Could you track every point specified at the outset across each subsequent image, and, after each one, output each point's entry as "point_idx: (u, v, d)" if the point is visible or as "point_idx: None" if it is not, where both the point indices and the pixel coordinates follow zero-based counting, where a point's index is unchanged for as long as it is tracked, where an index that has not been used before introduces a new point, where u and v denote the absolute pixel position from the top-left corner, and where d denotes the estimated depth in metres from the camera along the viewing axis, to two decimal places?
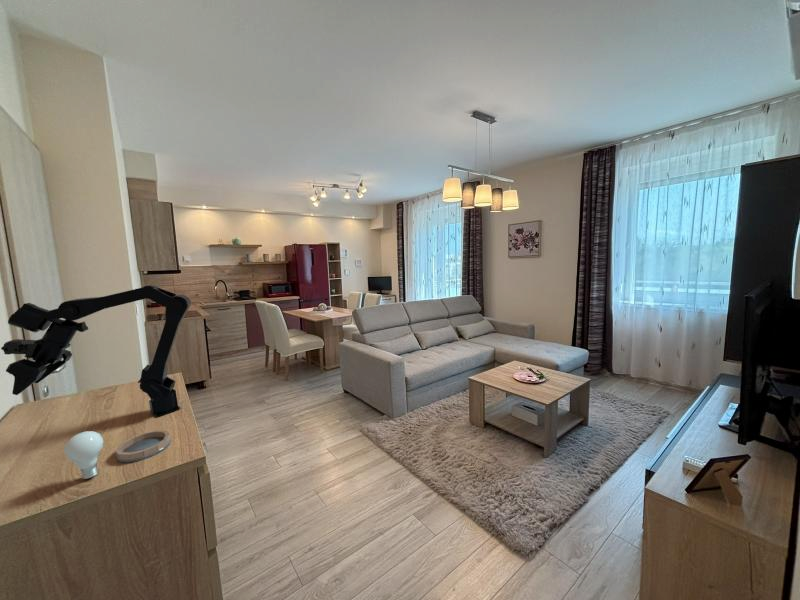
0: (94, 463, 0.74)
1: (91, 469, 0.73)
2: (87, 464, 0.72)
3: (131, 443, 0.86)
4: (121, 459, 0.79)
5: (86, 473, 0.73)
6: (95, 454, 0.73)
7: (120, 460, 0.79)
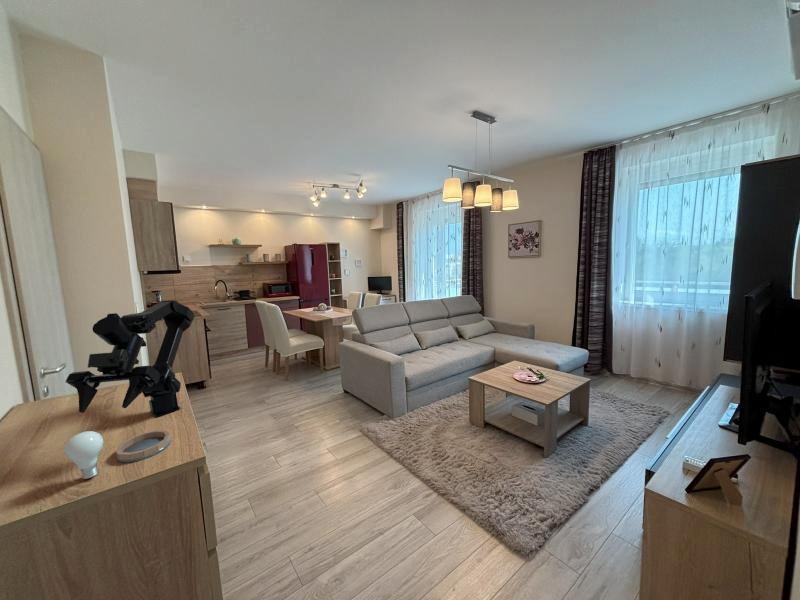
0: (94, 463, 0.74)
1: (91, 469, 0.73)
2: (87, 464, 0.72)
3: (131, 443, 0.86)
4: (121, 459, 0.79)
5: (86, 473, 0.73)
6: (95, 454, 0.73)
7: (120, 460, 0.79)
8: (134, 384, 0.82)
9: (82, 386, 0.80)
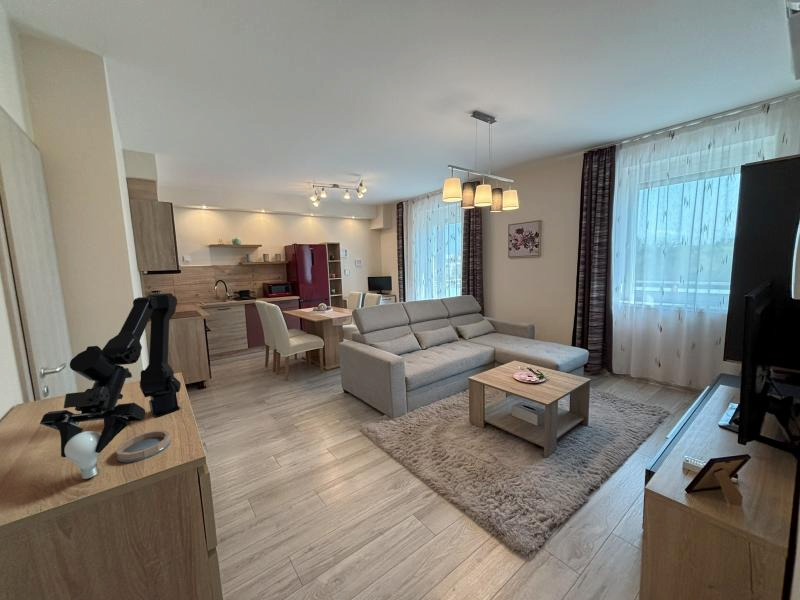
0: (94, 463, 0.74)
1: (91, 469, 0.73)
2: (87, 464, 0.72)
3: (131, 443, 0.86)
4: (121, 459, 0.79)
5: (86, 473, 0.73)
6: (95, 454, 0.73)
7: (120, 460, 0.79)
8: (109, 425, 0.74)
9: (65, 427, 0.73)
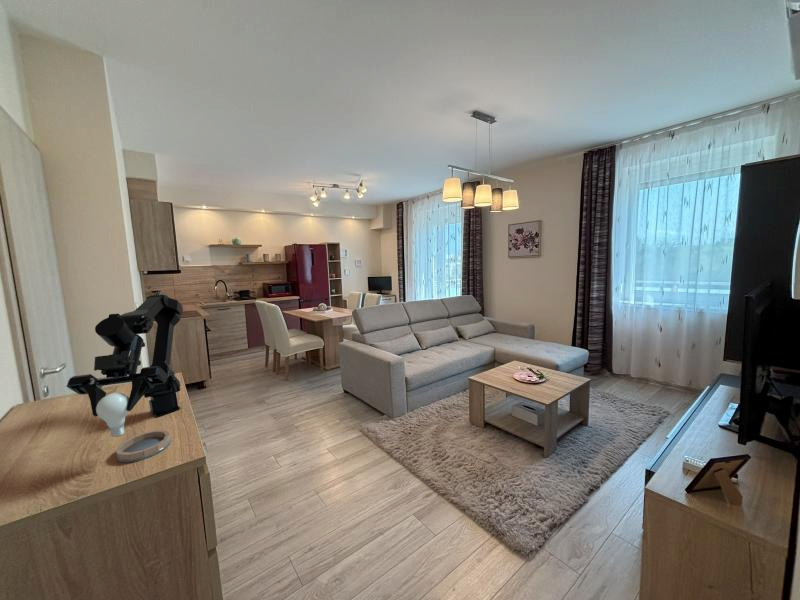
0: (123, 422, 0.79)
1: (120, 428, 0.78)
2: (118, 422, 0.77)
3: (131, 443, 0.86)
4: (121, 459, 0.79)
5: (116, 431, 0.78)
6: (125, 414, 0.78)
7: (120, 460, 0.79)
8: (137, 386, 0.80)
9: (93, 389, 0.77)
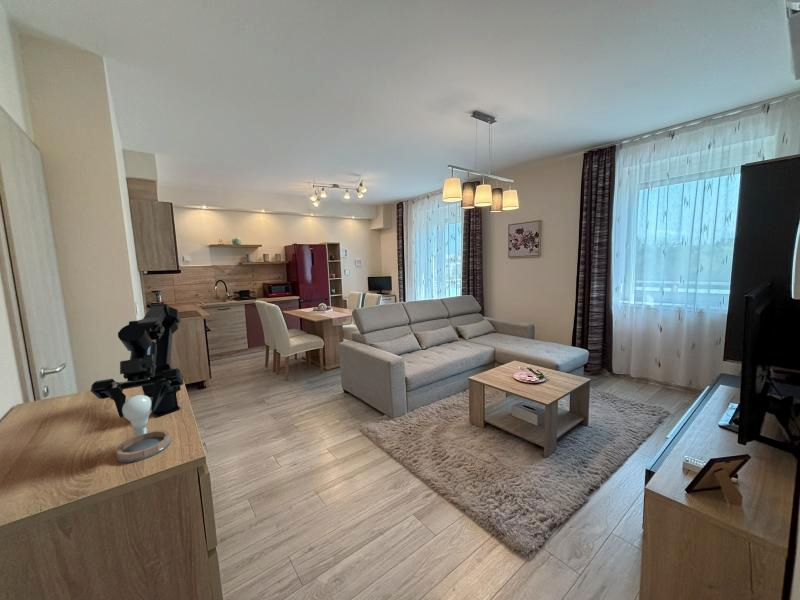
0: (146, 422, 0.84)
1: (144, 427, 0.83)
2: (143, 422, 0.83)
3: (131, 443, 0.86)
4: (121, 459, 0.79)
5: (141, 430, 0.83)
6: (149, 414, 0.83)
7: (120, 460, 0.79)
8: (160, 388, 0.85)
9: (117, 392, 0.82)
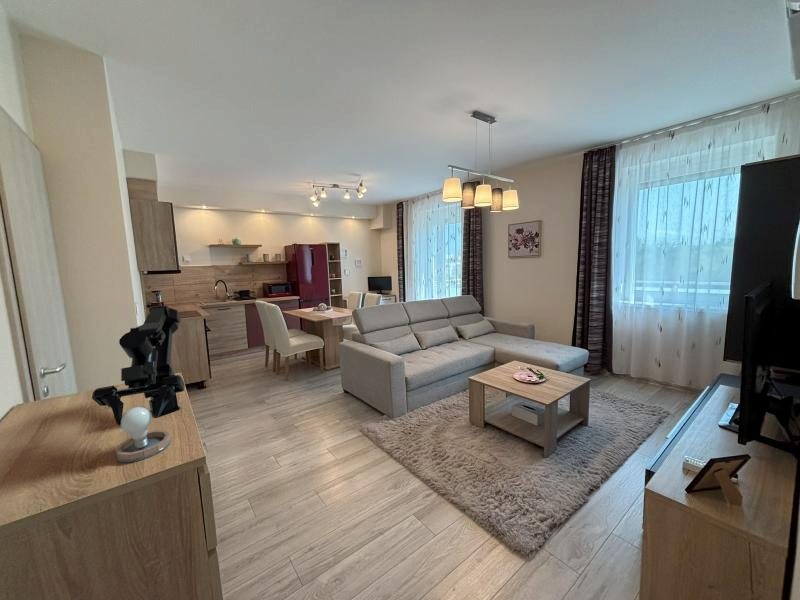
0: (146, 434, 0.84)
1: (144, 439, 0.84)
2: (142, 434, 0.83)
3: (131, 443, 0.86)
4: (121, 459, 0.79)
5: (141, 442, 0.83)
6: (148, 425, 0.84)
7: (120, 460, 0.79)
8: (164, 394, 0.86)
9: (115, 400, 0.82)
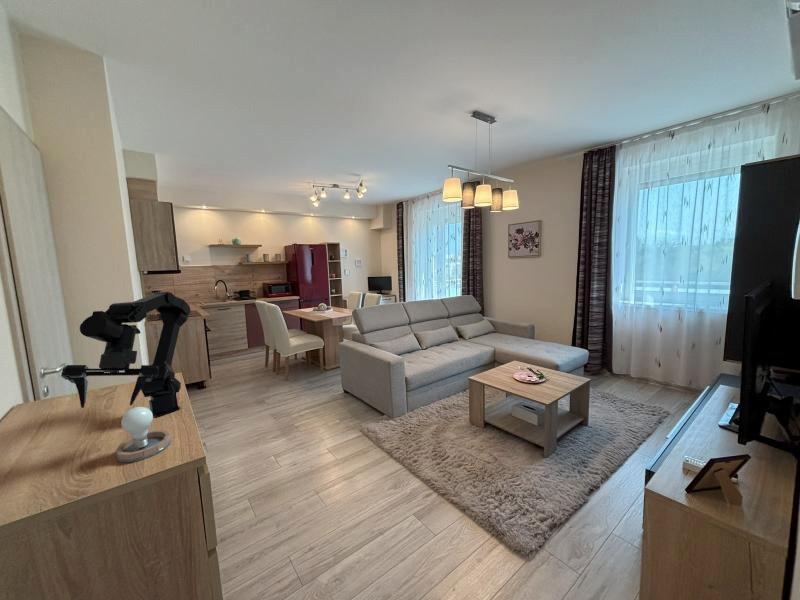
0: (146, 434, 0.84)
1: (144, 439, 0.84)
2: (142, 434, 0.83)
3: (131, 443, 0.86)
4: (121, 459, 0.79)
5: (141, 442, 0.83)
6: (149, 425, 0.84)
7: (120, 460, 0.79)
8: (141, 383, 0.86)
9: (82, 382, 0.79)
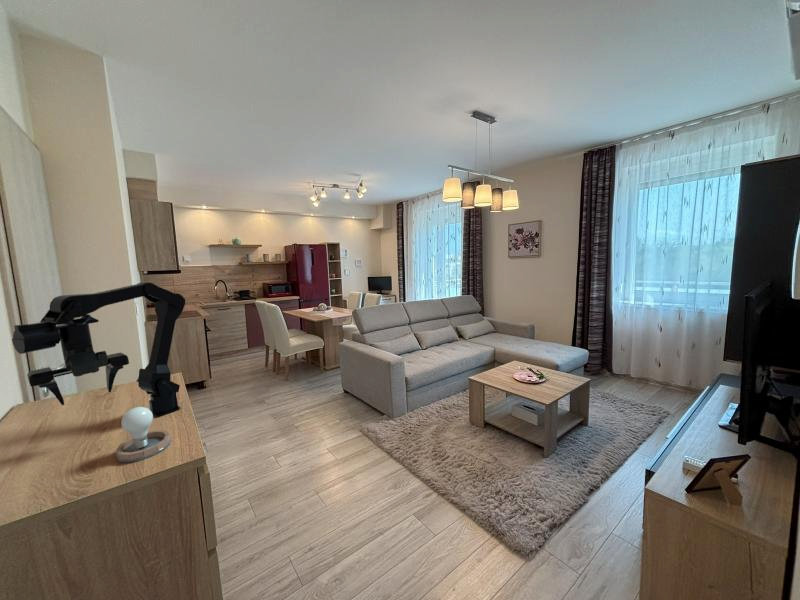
0: (146, 434, 0.84)
1: (144, 439, 0.84)
2: (142, 434, 0.83)
3: (131, 443, 0.86)
4: (121, 459, 0.79)
5: (141, 442, 0.83)
6: None
7: (120, 460, 0.79)
8: (115, 373, 0.90)
9: (55, 386, 0.80)
